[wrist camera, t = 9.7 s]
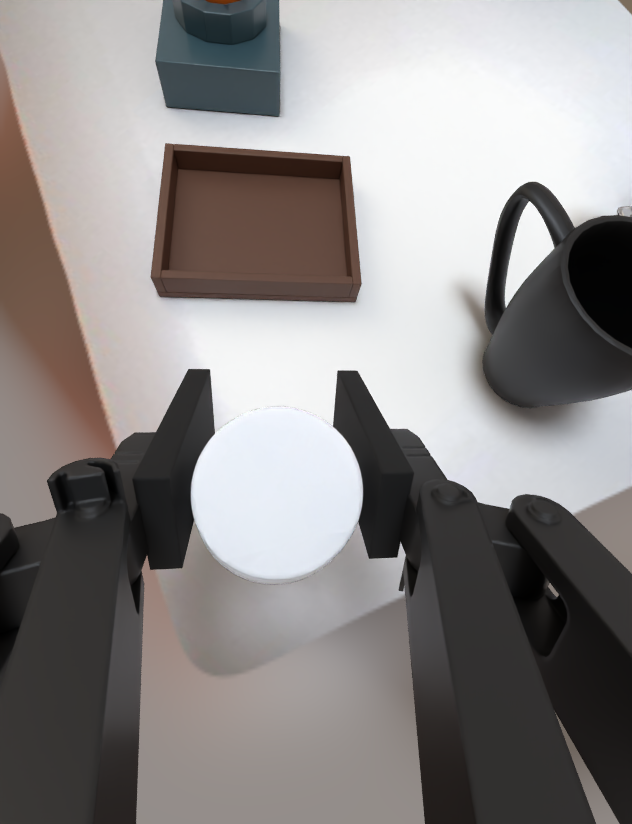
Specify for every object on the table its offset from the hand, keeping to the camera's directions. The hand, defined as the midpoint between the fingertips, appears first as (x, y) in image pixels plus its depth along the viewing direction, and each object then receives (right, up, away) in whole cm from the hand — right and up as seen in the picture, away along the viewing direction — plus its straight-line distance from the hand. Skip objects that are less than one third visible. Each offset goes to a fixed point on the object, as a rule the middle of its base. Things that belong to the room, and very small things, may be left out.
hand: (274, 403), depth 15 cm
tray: (-2, +13, +13) cm, 18 cm away
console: (-6, +30, +18) cm, 36 cm away
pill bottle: (0, -5, +2) cm, 5 cm away
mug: (+15, +4, +13) cm, 20 cm away
